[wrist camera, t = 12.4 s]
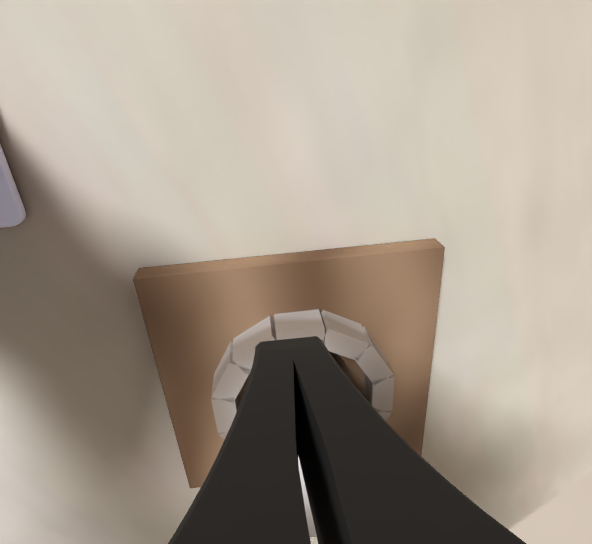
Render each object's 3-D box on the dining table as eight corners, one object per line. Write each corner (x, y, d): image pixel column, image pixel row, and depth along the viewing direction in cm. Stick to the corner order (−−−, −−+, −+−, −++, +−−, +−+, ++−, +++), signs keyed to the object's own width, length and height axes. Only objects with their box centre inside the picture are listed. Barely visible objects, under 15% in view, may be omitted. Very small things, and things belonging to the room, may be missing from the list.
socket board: (192, 472, 24) (186, 514, 21) (138, 268, 18) (123, 298, 15) (414, 442, 24) (431, 479, 22) (435, 238, 18) (461, 262, 16)
